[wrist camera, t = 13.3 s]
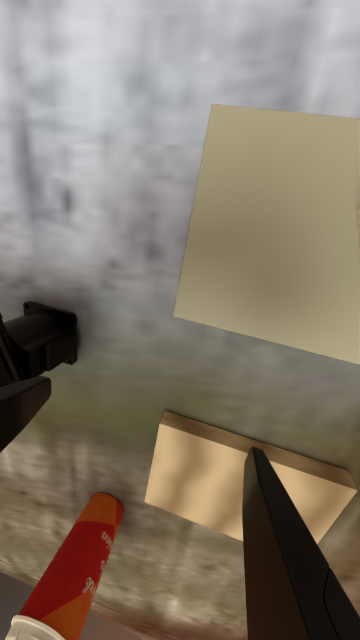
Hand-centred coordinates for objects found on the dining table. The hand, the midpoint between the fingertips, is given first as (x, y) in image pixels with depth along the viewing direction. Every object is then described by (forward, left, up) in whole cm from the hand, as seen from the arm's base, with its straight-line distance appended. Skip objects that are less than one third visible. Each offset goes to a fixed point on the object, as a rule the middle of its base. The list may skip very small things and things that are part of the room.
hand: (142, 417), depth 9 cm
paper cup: (-7, -34, -13) cm, 37 cm away
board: (+9, -19, -13) cm, 25 cm away
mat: (+9, +8, -13) cm, 18 cm away
